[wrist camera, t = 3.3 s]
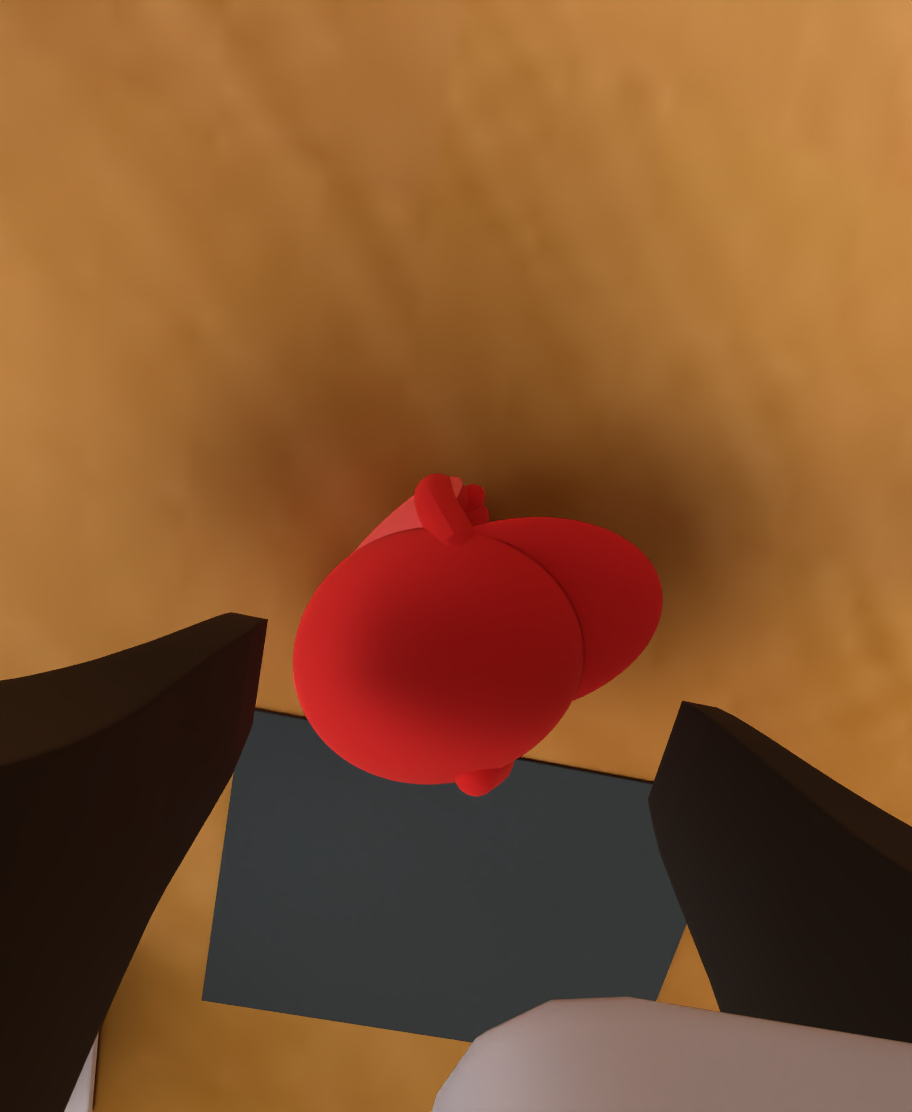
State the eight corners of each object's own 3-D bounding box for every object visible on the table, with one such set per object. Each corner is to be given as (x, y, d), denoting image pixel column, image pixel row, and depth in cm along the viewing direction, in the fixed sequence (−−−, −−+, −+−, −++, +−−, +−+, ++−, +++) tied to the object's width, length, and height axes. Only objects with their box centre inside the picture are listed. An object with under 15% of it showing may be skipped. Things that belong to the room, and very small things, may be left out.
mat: (203, 997, 21) (201, 1000, 21) (244, 706, 18) (242, 708, 18) (629, 1064, 22) (629, 1067, 22) (734, 797, 19) (735, 800, 19)
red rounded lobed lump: (433, 757, 19) (424, 936, 13) (268, 615, 18) (179, 745, 12) (653, 564, 17) (756, 671, 11) (491, 392, 16) (513, 416, 10)
